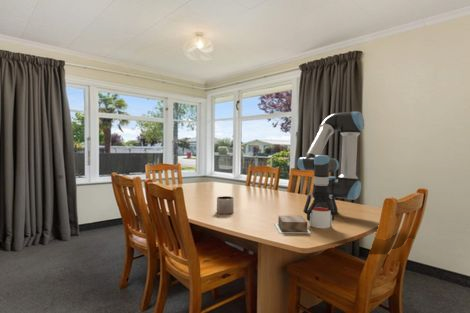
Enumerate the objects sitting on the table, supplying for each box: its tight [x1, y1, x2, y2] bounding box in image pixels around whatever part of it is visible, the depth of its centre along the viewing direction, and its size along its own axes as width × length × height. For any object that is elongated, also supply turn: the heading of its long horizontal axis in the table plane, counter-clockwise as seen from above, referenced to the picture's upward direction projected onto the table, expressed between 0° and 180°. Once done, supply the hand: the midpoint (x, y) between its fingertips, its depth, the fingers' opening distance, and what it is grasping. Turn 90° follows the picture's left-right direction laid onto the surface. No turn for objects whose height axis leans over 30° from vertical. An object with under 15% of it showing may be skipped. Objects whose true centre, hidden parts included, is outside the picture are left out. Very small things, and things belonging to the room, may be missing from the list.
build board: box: [273, 223, 313, 235], centre depth 138 cm, size 16×16×2 cm
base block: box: [277, 215, 308, 232], centre depth 138 cm, size 12×12×5 cm
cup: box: [310, 207, 331, 229], centre depth 144 cm, size 10×10×10 cm
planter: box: [216, 195, 235, 215], centre depth 176 cm, size 11×11×10 cm
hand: (320, 226), depth 144 cm, fingers closed on cup, 10 cm apart
